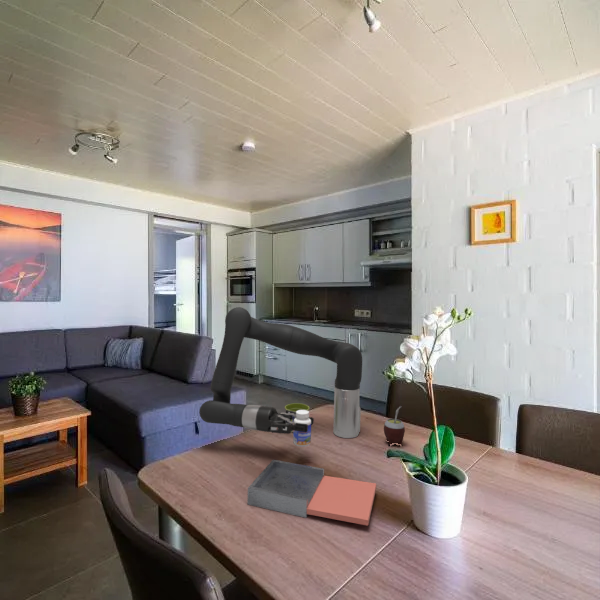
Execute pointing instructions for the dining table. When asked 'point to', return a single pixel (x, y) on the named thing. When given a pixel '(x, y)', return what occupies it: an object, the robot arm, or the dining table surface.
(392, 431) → the mate gourd
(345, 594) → the dining table surface
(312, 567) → the dining table surface
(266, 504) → the grey square tray
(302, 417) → the pill bottle
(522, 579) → the dining table surface
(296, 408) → the plant pot
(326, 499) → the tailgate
